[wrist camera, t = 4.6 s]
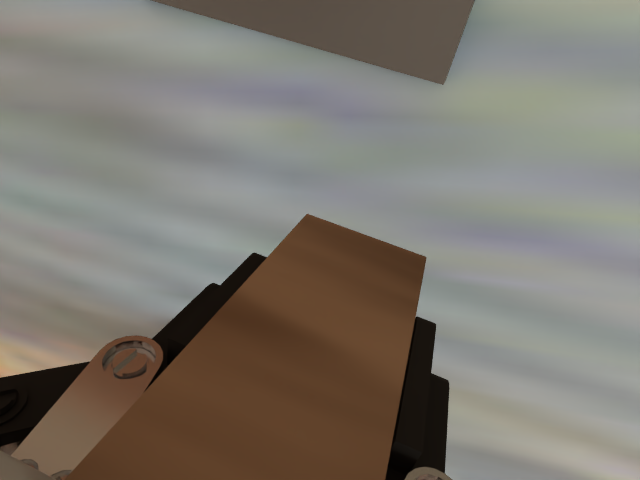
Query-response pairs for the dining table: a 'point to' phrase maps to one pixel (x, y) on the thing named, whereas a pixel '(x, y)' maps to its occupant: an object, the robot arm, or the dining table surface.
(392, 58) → the mat
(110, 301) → the dining table surface
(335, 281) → the block
